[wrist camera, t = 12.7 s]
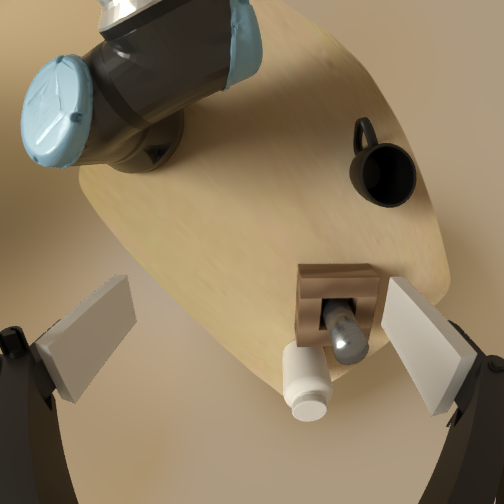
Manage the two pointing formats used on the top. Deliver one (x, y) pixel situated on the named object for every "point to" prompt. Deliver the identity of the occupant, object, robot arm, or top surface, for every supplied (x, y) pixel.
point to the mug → (381, 169)
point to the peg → (344, 331)
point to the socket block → (333, 286)
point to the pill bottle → (306, 381)
